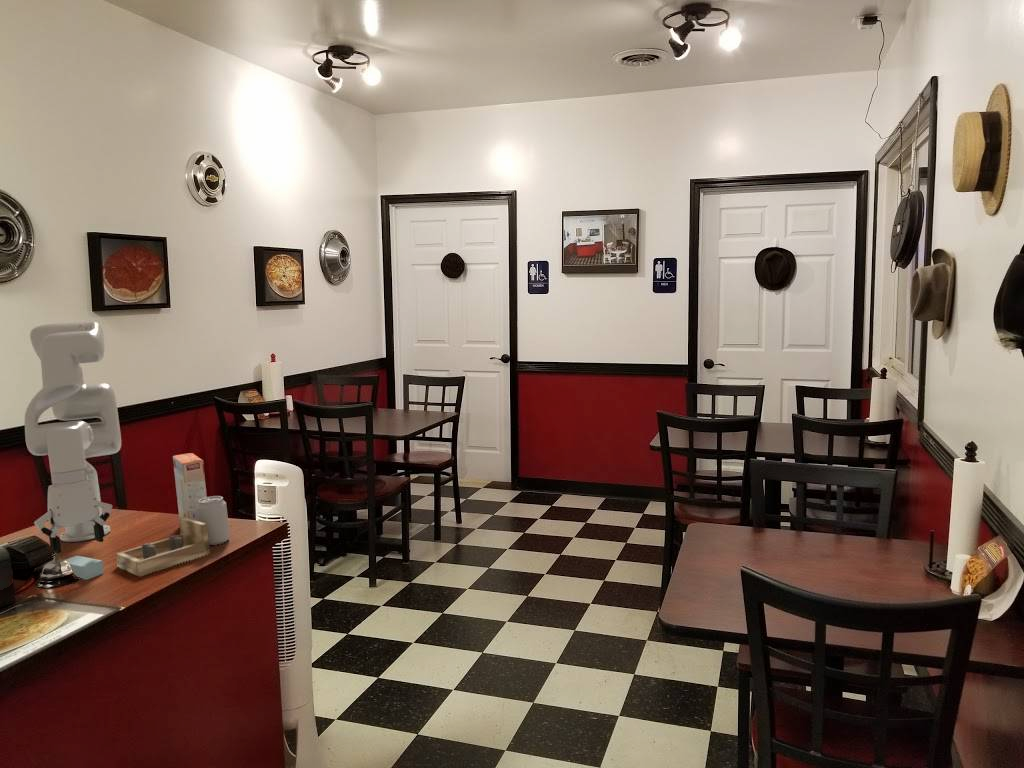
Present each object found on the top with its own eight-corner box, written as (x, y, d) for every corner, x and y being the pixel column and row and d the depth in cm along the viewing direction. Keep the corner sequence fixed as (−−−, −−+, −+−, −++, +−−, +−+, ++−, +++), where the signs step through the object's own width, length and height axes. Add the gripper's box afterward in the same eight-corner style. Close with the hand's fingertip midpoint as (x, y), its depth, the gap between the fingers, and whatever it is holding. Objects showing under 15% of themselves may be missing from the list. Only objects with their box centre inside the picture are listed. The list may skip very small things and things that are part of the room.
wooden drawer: (117, 567, 196) (113, 535, 195) (186, 545, 210) (183, 516, 209) (139, 576, 189) (135, 544, 188) (209, 554, 202) (206, 523, 201)
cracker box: (211, 533, 220) (203, 459, 217) (189, 537, 217) (180, 463, 214) (201, 521, 232) (193, 451, 229) (179, 526, 229) (171, 455, 226)
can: (220, 547, 208) (215, 502, 206) (194, 546, 209) (189, 502, 207) (235, 537, 215) (230, 494, 213) (210, 537, 216) (205, 494, 215)
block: (61, 575, 194) (59, 561, 193) (78, 569, 197) (77, 555, 197) (86, 580, 189) (84, 566, 188) (104, 574, 193) (102, 560, 192)
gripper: (100, 468, 199) (108, 535, 200) (23, 483, 186) (33, 554, 187) (113, 471, 194) (122, 539, 196) (35, 486, 181) (45, 559, 182)
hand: (78, 546), depth 191 cm, fingers open, 9 cm apart
